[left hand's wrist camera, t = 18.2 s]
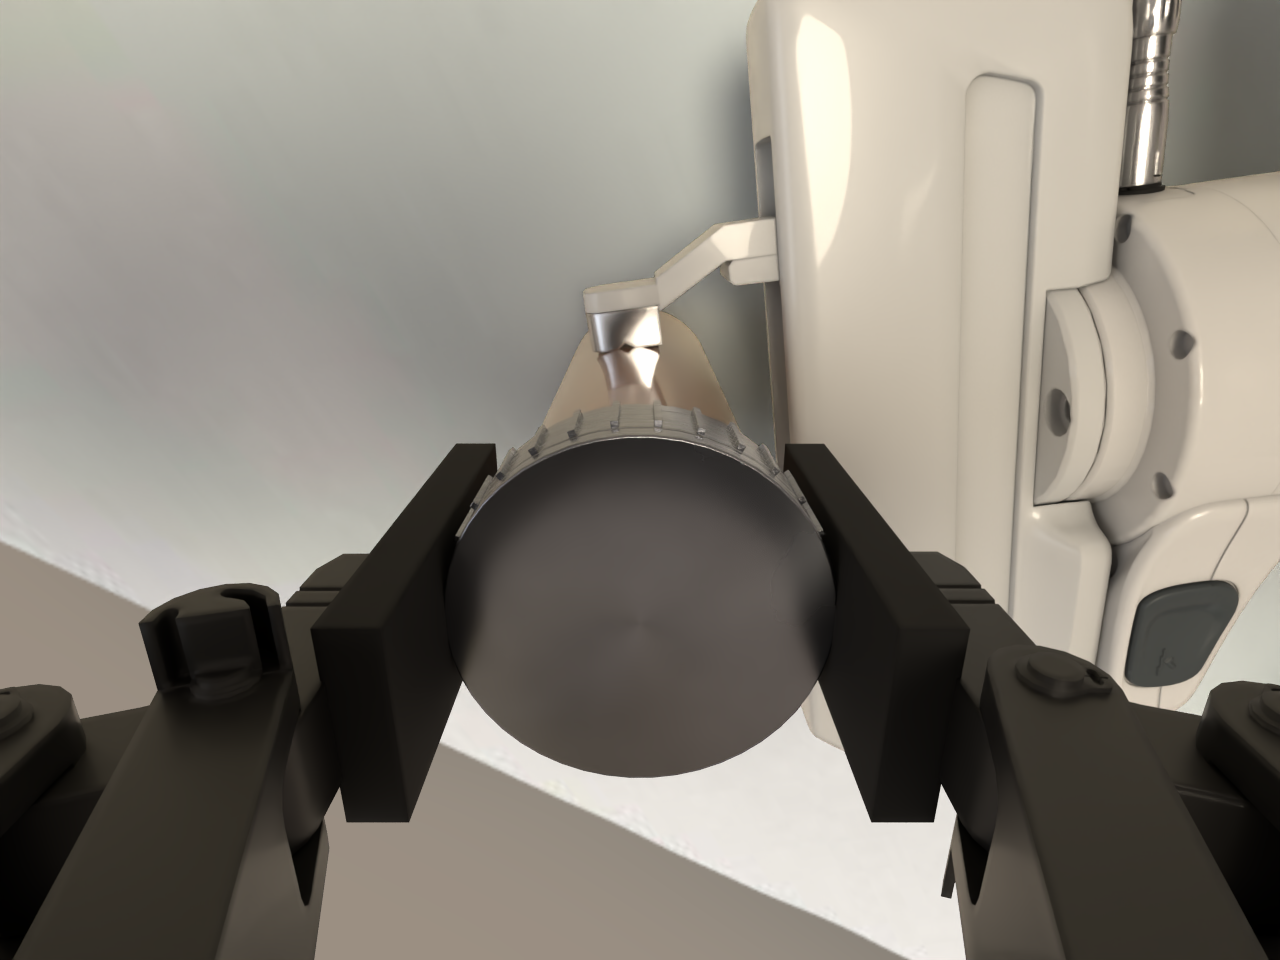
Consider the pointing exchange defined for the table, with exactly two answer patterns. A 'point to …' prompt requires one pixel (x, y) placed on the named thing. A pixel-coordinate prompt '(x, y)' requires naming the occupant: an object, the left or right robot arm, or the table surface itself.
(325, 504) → the table surface
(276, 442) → the table surface
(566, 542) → the lid
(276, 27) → the table surface
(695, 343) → the jar
